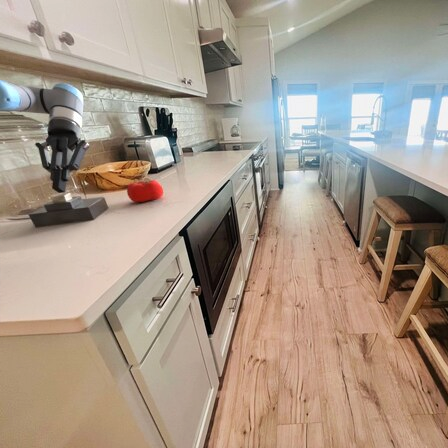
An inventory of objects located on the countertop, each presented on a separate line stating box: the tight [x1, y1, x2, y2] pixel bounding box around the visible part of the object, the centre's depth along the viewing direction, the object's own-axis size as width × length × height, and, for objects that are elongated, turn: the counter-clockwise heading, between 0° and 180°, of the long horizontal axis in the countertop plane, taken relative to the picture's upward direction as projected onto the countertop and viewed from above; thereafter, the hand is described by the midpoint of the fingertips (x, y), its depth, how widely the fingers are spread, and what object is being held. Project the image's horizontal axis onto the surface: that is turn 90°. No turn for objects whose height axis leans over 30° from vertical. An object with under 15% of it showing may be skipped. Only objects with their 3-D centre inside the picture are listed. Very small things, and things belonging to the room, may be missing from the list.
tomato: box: [126, 179, 164, 203], centre depth 86 cm, size 10×11×6 cm
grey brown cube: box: [50, 192, 73, 203], centre depth 69 cm, size 3×3×3 cm
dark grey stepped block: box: [28, 195, 109, 229], centre depth 72 cm, size 14×11×6 cm
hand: (58, 190), depth 68 cm, fingers closed
